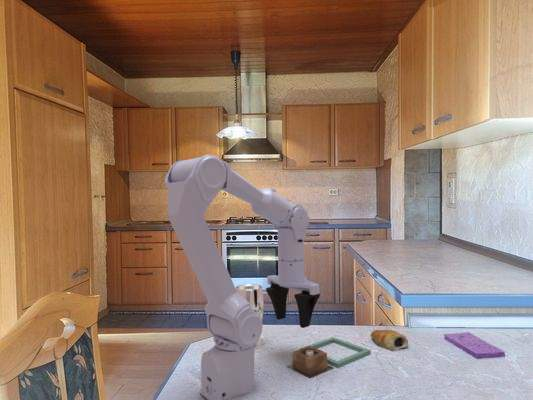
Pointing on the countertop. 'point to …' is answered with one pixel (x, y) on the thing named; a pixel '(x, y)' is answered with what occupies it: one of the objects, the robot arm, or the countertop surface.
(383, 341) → the pastry
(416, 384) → the countertop surface
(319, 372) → the grey peg base
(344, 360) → the tray
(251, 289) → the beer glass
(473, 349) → the sponges
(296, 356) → the collar
